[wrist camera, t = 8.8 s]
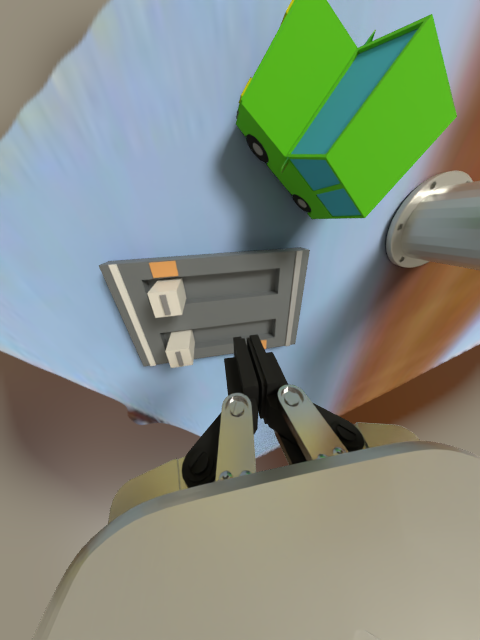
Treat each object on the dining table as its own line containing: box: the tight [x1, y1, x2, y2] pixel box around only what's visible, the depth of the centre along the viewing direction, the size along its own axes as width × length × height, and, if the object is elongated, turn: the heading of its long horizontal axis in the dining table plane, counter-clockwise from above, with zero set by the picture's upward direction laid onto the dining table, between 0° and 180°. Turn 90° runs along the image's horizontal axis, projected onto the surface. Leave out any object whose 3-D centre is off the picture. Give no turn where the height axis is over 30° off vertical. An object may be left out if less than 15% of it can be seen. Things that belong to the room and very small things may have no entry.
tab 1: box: [147, 277, 186, 318], centre depth 21 cm, size 3×3×5 cm
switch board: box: [99, 247, 310, 366], centre depth 26 cm, size 26×16×3 cm, turn 93°
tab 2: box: [165, 329, 195, 368], centre depth 25 cm, size 3×3×5 cm
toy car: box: [236, 0, 457, 219], centre depth 15 cm, size 10×13×10 cm
